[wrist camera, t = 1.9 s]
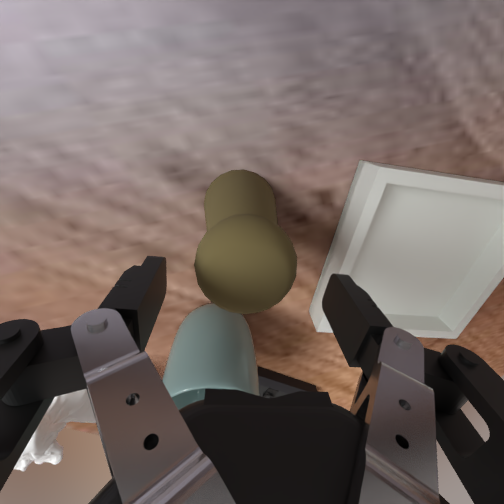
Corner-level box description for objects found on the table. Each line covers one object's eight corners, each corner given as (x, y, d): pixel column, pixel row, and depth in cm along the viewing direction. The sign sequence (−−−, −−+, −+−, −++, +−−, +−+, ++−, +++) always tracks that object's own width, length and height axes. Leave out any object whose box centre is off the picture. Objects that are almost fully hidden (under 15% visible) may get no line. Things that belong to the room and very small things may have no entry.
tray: (359, 159, 20) (379, 166, 17) (526, 185, 22) (567, 195, 19) (308, 311, 27) (316, 331, 24) (436, 318, 29) (456, 338, 27)
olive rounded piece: (229, 249, 23) (227, 348, 13) (189, 194, 20) (150, 268, 10) (287, 217, 22) (332, 299, 12) (253, 154, 19) (277, 195, 9)
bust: (141, 355, 32) (121, 393, 21) (120, 419, 30) (88, 493, 20) (35, 337, 29) (-49, 369, 18) (7, 406, 27) (-102, 485, 17)
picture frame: (248, 440, 41) (314, 381, 35) (249, 456, 39) (319, 397, 33) (174, 423, 37) (232, 353, 31) (171, 440, 35) (232, 369, 29)
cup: (241, 283, 25) (248, 375, 16) (258, 335, 28) (271, 432, 20) (168, 300, 25) (134, 400, 16) (194, 350, 29) (178, 451, 20)
